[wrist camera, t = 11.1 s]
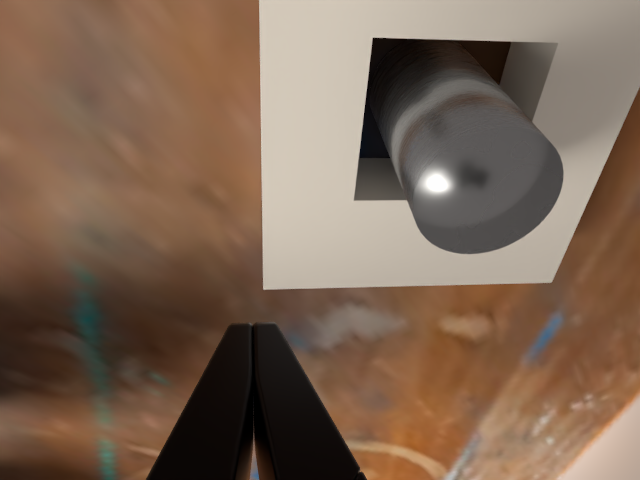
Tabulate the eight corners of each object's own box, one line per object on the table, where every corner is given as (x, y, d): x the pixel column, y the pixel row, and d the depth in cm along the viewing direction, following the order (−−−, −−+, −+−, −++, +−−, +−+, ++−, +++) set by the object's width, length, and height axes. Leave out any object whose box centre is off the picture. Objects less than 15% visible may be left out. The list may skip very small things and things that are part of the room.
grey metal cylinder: (462, 139, 21) (535, 253, 15) (363, 138, 20) (402, 255, 15) (488, 36, 18) (586, 127, 13) (376, 32, 18) (428, 125, 12)
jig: (523, 238, 24) (551, 282, 22) (262, 242, 23) (263, 289, 21) (662, -131, 16) (733, -123, 13) (257, -159, 14) (257, -154, 12)
